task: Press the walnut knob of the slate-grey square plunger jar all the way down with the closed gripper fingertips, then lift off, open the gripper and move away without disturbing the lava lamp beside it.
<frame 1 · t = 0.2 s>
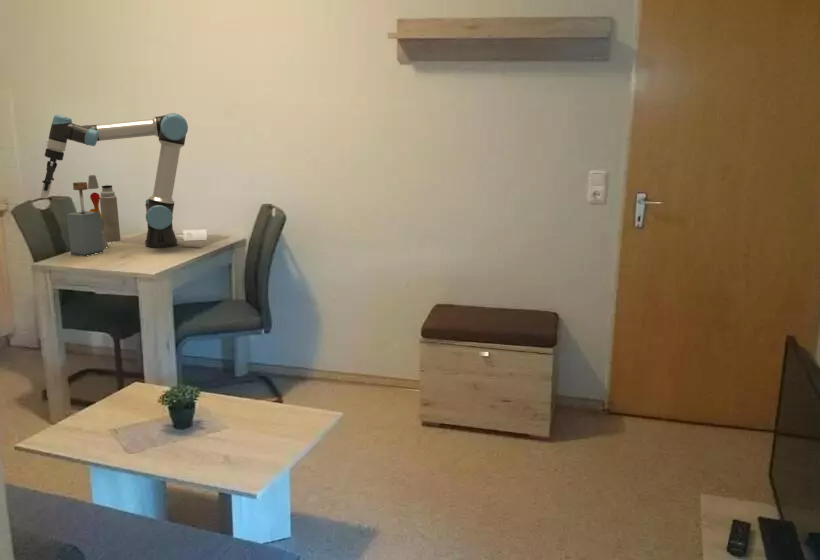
hand: (44, 195, 347), 28 cm above the table, tool tilted 20°, fingers open, 13 cm apart
thermos bottle: (112, 240, 393), on the table
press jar: (87, 253, 361), on the table
lava lamp: (99, 247, 375), on the table
plunger: (82, 206, 355), point 22 cm above the table, slide at 10.0 cm
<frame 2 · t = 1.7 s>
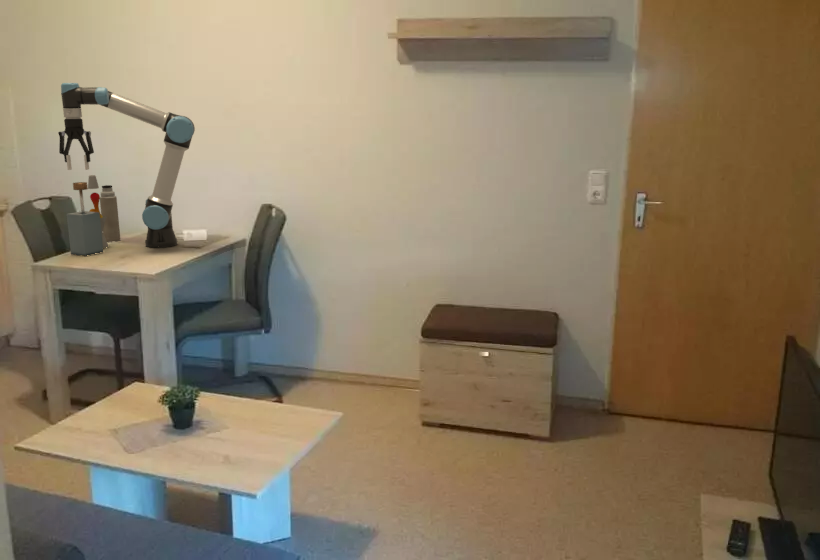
hand: (78, 169, 352), 39 cm above the table, tool pointing down, fingers open, 7 cm apart
nothing on the table moved.
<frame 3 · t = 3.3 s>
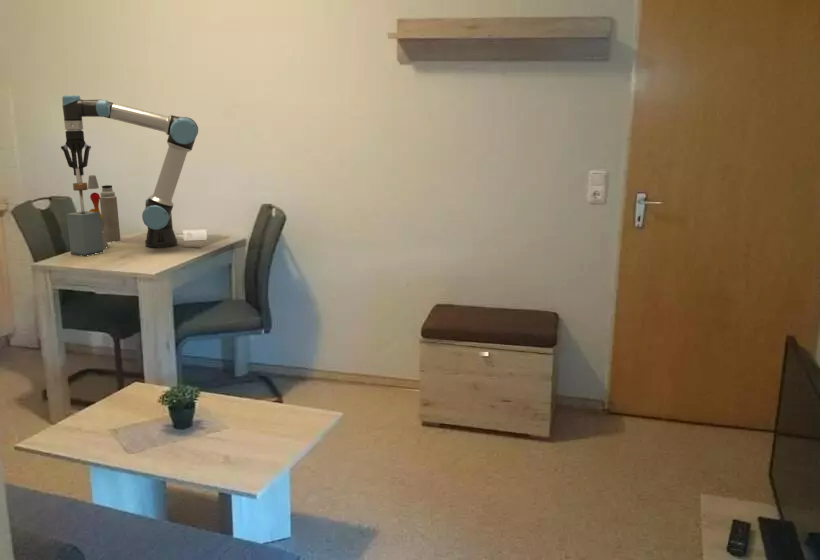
hand: (79, 182, 353), 33 cm above the table, tool pointing down, fingers closed
plunger: (82, 206, 356), point 22 cm above the table, slide at 9.8 cm, touching gripper
everything else where it was.
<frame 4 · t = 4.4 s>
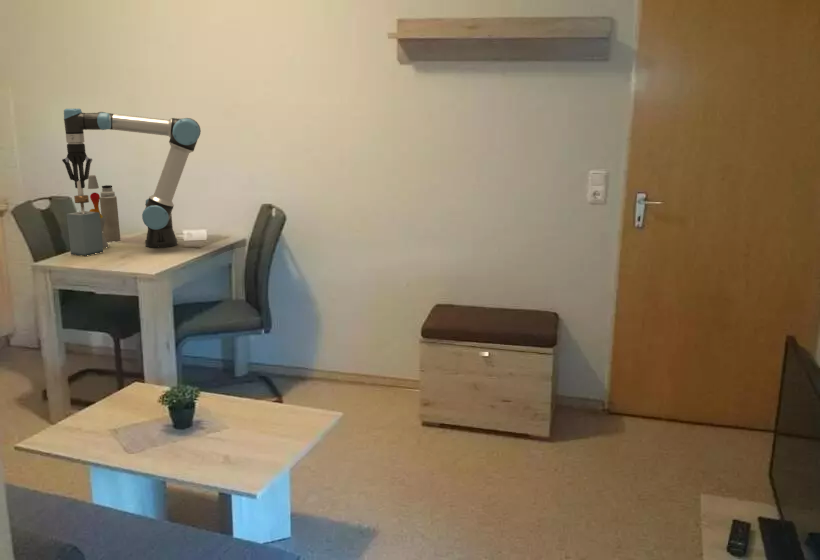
hand: (80, 195, 354), 27 cm above the table, tool pointing down, fingers closed
plunger: (83, 218, 357), point 16 cm above the table, slide at 4.0 cm, touching gripper
everything else where it was.
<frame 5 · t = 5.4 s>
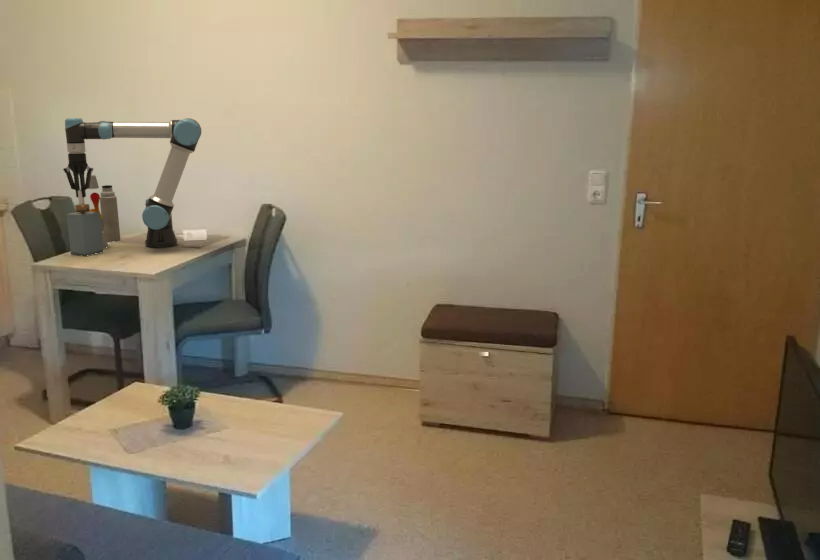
hand: (81, 204, 355), 23 cm above the table, tool pointing down, fingers closed
plunger: (84, 227, 358), point 12 cm above the table, slide at -0.2 cm, touching gripper
everything else where it was.
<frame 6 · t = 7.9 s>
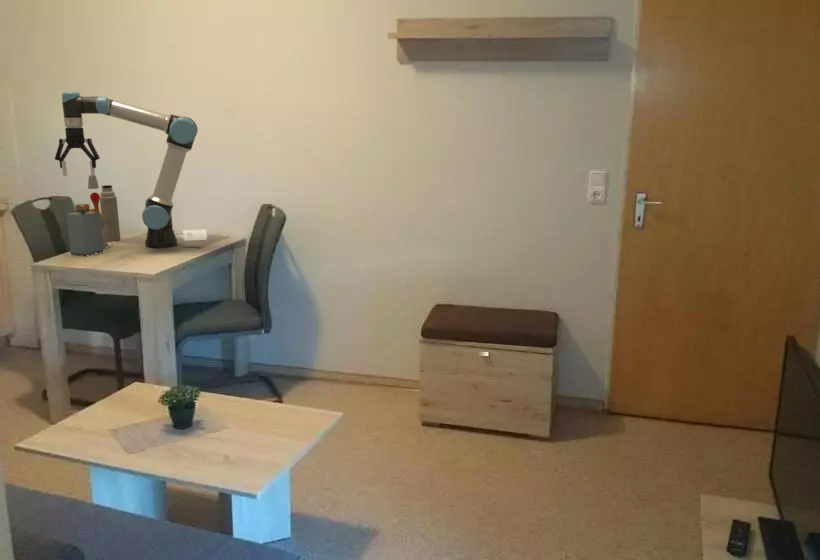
hand: (79, 175, 352), 36 cm above the table, tool pointing down, fingers open, 12 cm apart
plunger: (84, 227, 358), point 12 cm above the table, slide at -0.1 cm
everything else where it was.
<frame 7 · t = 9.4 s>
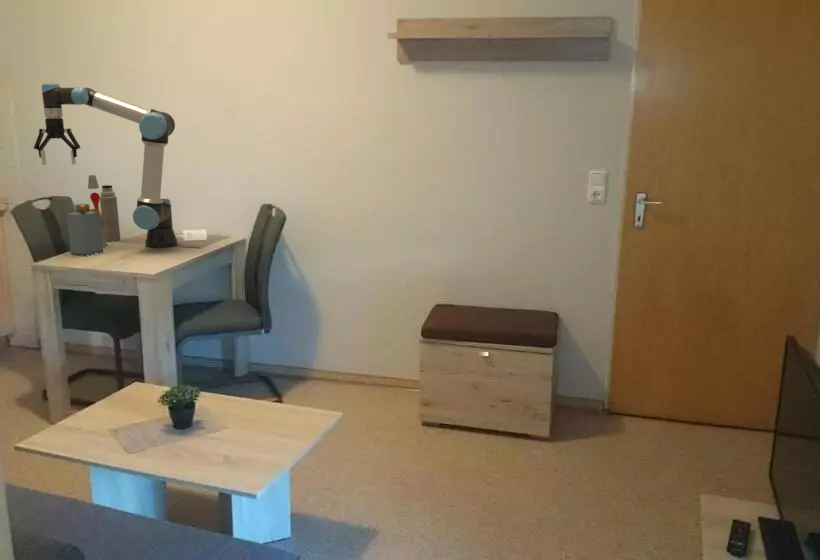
hand: (59, 164, 358), 41 cm above the table, tool pointing down, fingers open, 13 cm apart
nothing on the table moved.
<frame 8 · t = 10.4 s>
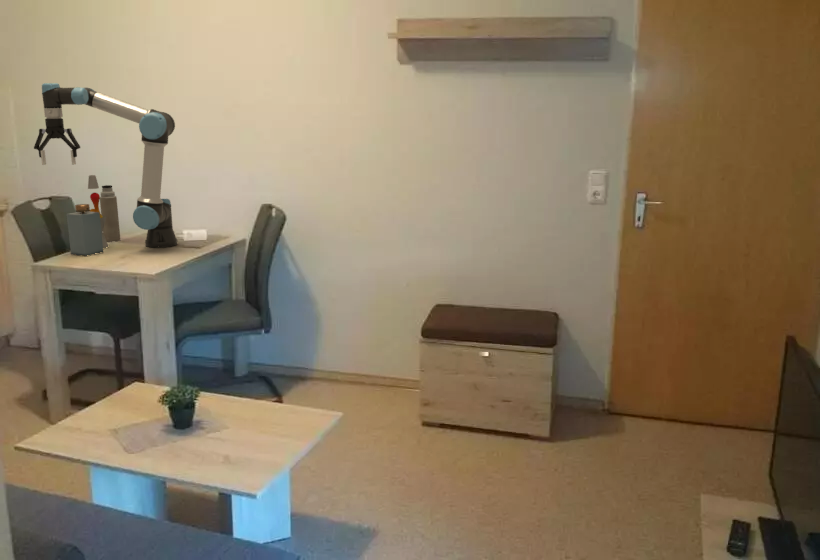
hand: (59, 164, 358), 41 cm above the table, tool pointing down, fingers open, 13 cm apart
nothing on the table moved.
at the end: plunger slide at -0.1 cm; lava lamp tilted 0°; lava lamp moved 0.2 cm from its start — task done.
